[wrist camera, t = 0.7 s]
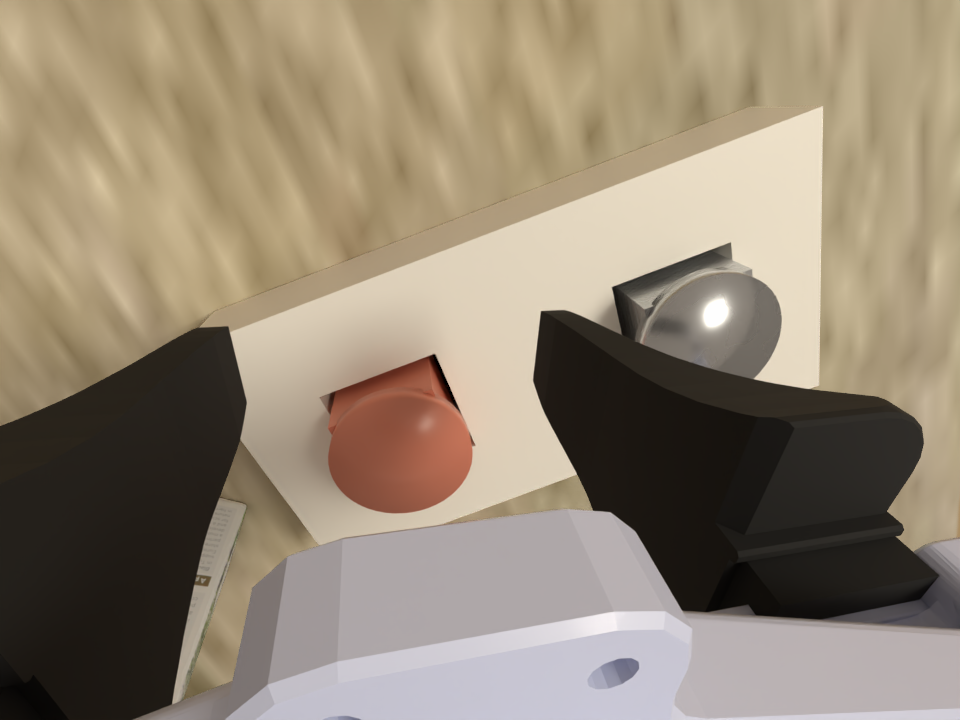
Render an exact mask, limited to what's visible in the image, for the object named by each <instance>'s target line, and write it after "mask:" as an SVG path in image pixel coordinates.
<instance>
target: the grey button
mask: <svg viewBox="0 0 960 720" xmlns="http://www.w3.org/2000/svg"><path fill="white" fill-rule="evenodd" d="M612 291H613V295H614V300H615V305H616V309H617V314H618V319H619V323H620V328H621V333H622V335H623V336H625V337H627V338H630V339H632V340H634V341H636V342H639V343H641V344H643V345H646V346H648V347H651V348H653V349H655V350H658V351H660V352H663V353H665V354H668V355H671V356H673V357H676V358H679V359H682V360H685V361H688V362H691V363H694V364H698V365H701V366H704V367H707V368H711V369H714V370H718V371H721V372H726V373H730V374H734V375H738V376H742V377H746V378H750V379H754V378H755V377H756V376H757V375H758V374H759V373H760V372H761V370H762V369H763V368H764V367H765V365H766V364H767V362H768V361H769V360H770V358H771V356H772V354H773V352H774V350H775V348H776V346H777V343H778V340H779V337H780V332H781V325H782V316H781V309H780V305H779V302H778V300H777V298H776V296H775V294H774V293H773V291H772V290H771V289H770V288H769V287H768V286H767V285H766V284H764V283H763V282H761V281H760V280H758V279H756V278H754V277H753V275H752V269H751V268H749V267H747V266H744V265H742V264H740V263H738V262H735V261H733V260H731V259H729V258H726V257H724V256H722V255H720V254H717V253H715V252H713V251H711V250H709V251H706V252H703V253H701V254H698V255H695V256H693V257H690V258H687V259H685V260H682V261H679V262H677V263H674V264H672V265H669V266H666V267H664V268H661V269H658V270H656V271H653V272H650V273H648V274H645V275H642V276H640V277H637V278H634V279H632V280H629V281H626V282H624V283H621V284H618V285H616V286H613V287H612Z"/></svg>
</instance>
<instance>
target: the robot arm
mask: <svg viewBox="0 0 960 720" xmlns="http://www.w3.org/2000/svg"><path fill="white" fill-rule="evenodd" d="M533 383H534V386H535V389H536V392H537V395H538V398H539V400H540V403H541V406H542V409H543V411H544V413H545V415H546V417H547V419H548V421H549V423H550V425H551V427H552V429H553V431H554V432H555V434H556V436H557V438H558V440H559V442H560V444H561V445H562V447H563V449H564V451H565V453H566V455H567V457H568V458H569V460H570V462H571V464H572V466H573V468H574V469H575V471H576V473H577V475H578V477H579V479H580V481H581V483H582V485H583V487H584V489H585V491H586V493H587V496H588V498H589V501H590V503H591V506H592V508H593V511H589V510H574V509H556V510H548V511H541V512H533V513H526V514H518V515H511V516H503V517H496V518H488V519H481V520H473V521H466V522H458V523H450V524H443V525H435V526H428V527H420V528H413V529H405V530H398V531H390V532H383V533H375V534H368V535H360V536H353V537H345V538H341V539H338V540H335V541H332V542H329V543H326V544H322V545H319V546H316V547H313V548H310V549H307V550H303V551H300V552H297V553H295V554H292V555H290V556H288V557H287V558H285V559H284V560H283V561H282V562H281V563H280V564H279V565H278V566H276V567H275V568H274V569H273V570H272V571H271V572H270V573H269V574H267V575H266V576H265V577H264V578H263V579H262V580H261V581H260V582H258V583H257V584H256V585H255V586H254V587H253V588H252V593H251V597H250V602H249V607H248V611H247V616H246V621H245V625H244V630H243V635H242V639H241V644H240V649H239V654H238V658H237V663H236V668H235V672H234V677H233V681H231V682H229V683H226V684H224V685H221V686H218V687H216V688H213V689H211V690H208V691H205V692H203V693H200V694H198V695H195V696H193V697H190V698H187V699H185V700H182V701H180V702H177V703H174V704H172V701H173V694H174V689H175V683H176V677H177V672H178V666H179V661H180V655H181V649H182V644H183V638H184V633H185V628H186V623H187V618H188V613H189V608H190V604H191V599H192V594H193V589H194V584H195V580H196V576H197V571H198V567H199V563H200V558H201V554H202V550H203V545H204V541H205V538H206V535H207V532H208V528H209V525H210V522H211V519H212V517H213V514H214V511H215V508H216V506H217V503H218V500H219V497H220V495H221V492H222V489H223V486H224V484H225V481H226V478H227V476H228V473H229V470H230V467H231V464H232V462H233V459H234V456H235V453H236V450H237V447H238V445H239V442H240V438H241V433H242V428H243V424H244V418H245V412H246V406H247V400H246V396H245V392H244V388H243V384H242V380H241V376H240V372H239V368H238V364H237V359H236V355H235V351H234V347H233V343H232V339H231V335H230V331H229V327H228V326H222V327H201V328H196V329H194V330H191V331H189V332H187V333H185V334H183V335H181V336H179V337H177V338H176V339H174V340H172V341H170V342H169V343H167V344H165V345H164V346H162V347H160V348H158V349H157V350H155V351H153V352H152V353H150V354H148V355H146V356H145V357H143V358H141V359H139V360H138V361H136V362H134V363H133V364H131V365H129V366H127V367H126V368H124V369H122V370H120V371H118V372H116V373H114V374H112V375H111V376H109V377H107V378H105V379H103V380H101V381H99V382H97V383H96V384H94V385H92V386H90V387H88V388H86V389H84V390H82V391H80V392H78V393H76V394H74V395H72V396H70V397H68V398H66V399H64V400H62V401H59V402H57V403H55V404H53V405H51V406H48V407H46V408H44V409H41V410H39V411H37V412H34V413H32V414H30V415H27V416H25V417H23V418H20V419H18V420H15V421H13V422H10V423H7V424H5V425H2V426H0V720H960V537H958V538H952V539H946V540H941V541H935V542H931V543H928V544H926V545H923V546H922V547H920V548H919V549H917V550H915V551H914V552H912V551H911V550H910V549H909V548H908V547H907V546H906V545H904V544H903V543H902V542H901V541H900V540H899V539H898V538H896V537H895V536H900V535H901V534H902V532H903V531H904V528H903V525H902V524H901V523H900V522H899V521H898V520H896V519H895V518H894V517H893V516H892V515H891V514H889V513H888V512H887V510H888V508H889V507H890V505H891V504H892V502H893V501H894V499H895V498H896V496H897V495H898V493H899V492H900V490H901V489H902V487H903V486H904V484H905V483H906V481H907V480H908V478H909V477H910V475H911V474H912V472H913V470H914V469H915V467H916V465H917V463H918V461H919V459H920V457H921V453H922V448H923V444H924V439H923V433H922V427H921V426H920V424H919V423H918V422H917V421H916V419H915V418H914V417H912V416H911V415H909V414H908V413H906V412H904V411H903V410H901V409H900V408H898V407H897V406H895V405H893V404H892V403H890V402H889V401H887V400H885V399H882V398H879V397H875V396H866V395H856V394H847V393H838V392H829V391H820V390H812V389H805V388H799V387H793V386H787V385H781V384H775V383H770V382H765V381H760V380H755V379H750V378H746V377H742V376H738V375H734V374H730V373H726V372H721V371H718V370H714V369H711V368H707V367H704V366H701V365H698V364H694V363H691V362H688V361H685V360H682V359H679V358H676V357H673V356H671V355H668V354H665V353H663V352H660V351H658V350H655V349H653V348H651V347H648V346H646V345H643V344H641V343H639V342H636V341H634V340H632V339H630V338H627V337H625V336H623V335H621V334H619V333H617V332H614V331H612V330H610V329H608V328H606V327H604V326H602V325H600V324H598V323H596V322H593V321H591V320H589V319H587V318H585V317H582V316H580V315H578V314H575V313H573V312H570V311H567V310H551V311H541V314H540V323H539V331H538V340H537V349H536V357H535V366H534V374H533Z"/></svg>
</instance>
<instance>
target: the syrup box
mask: <svg viewBox="0 0 960 720" xmlns="http://www.w3.org/2000/svg"><path fill="white" fill-rule="evenodd" d="M246 509H247V506H246V505H245V504H243V503H240V502H236V501H231V500H227V499H223V498H219V500H218V503H217V506H216V508H215V511H214V514H213V517H212V519H211V522H210V525H209V528H208V532H207V535H206V538H205V541H204V545H203V550H202V554H201V558H200V563H199V567H198V571H197V576H196V580H195V584H194V589H193V594H192V599H191V604H190V608H189V613H188V618H187V623H186V628H185V633H184V638H183V644H182V649H181V655H180V661H179V666H178V672H177V677H176V683H175V689H174V694H173V701H172V704H174V703H177V702H180V701H182V700H183V699H184V696H185V693H186V690H187V687H188V684H189V681H190V678H191V675H192V672H193V669H194V666H195V663H196V660H197V658H198V655H199V652H200V649H201V646H202V643H203V640H204V637H205V634H206V632H207V629H208V626H209V623H210V620H211V617H212V614H213V612H214V609H215V606H216V603H217V600H218V597H219V594H220V592H221V589H222V586H223V583H224V580H225V577H226V574H227V571H228V568H229V565H230V561H231V558H232V555H233V551H234V548H235V545H236V542H237V539H238V535H239V532H240V529H241V526H242V522H243V519H244V516H245V513H246Z"/></svg>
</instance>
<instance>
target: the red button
mask: <svg viewBox="0 0 960 720" xmlns="http://www.w3.org/2000/svg"><path fill="white" fill-rule="evenodd" d="M328 430H329V431H330V433H331V434H332V437H331V442H330V447H329V453H328V465H329V470H330V473H331V476H332V478H333V480H334V482H335V484H336V485H337V487H338V488H339V489H340V490H341V492H342V493H344V494H345V495H346V496H347V497H348V498H349V499H351V500H352V501H353V502H355V503H357V504H359V505H361V506H363V507H365V508H368V509H371V510H374V511H378V512H384V513H394V514H396V513H411V512H416V511H421V510H424V509H427V508H430V507H432V506H434V505H437V504H438V503H440V502H442V501H444V500H445V499H447V498H448V497H449V496H451V495H452V494H453V493H454V492H455V491H456V490H457V489H458V488H459V487H460V486H461V485H462V483H463V482H464V480H465V479H466V477H467V475H468V473H469V470H470V467H471V464H472V457H473V453H472V444H471V439H470V435H469V430H468V427H467V424H466V422H465V420H464V418H463V416H462V415H461V413H460V412H459V411H458V410H457V409H456V408H455V405H454V403H453V401H452V399H451V396H450V394H449V392H448V390H447V387H446V385H445V383H444V381H443V378H442V376H441V374H440V372H439V369H438V367H437V365H436V363H435V360H434V358H433V356H432V355H430V356H427V357H425V358H422V359H419V360H417V361H414V362H411V363H409V364H406V365H403V366H401V367H398V368H395V369H393V370H390V371H387V372H385V373H382V374H379V375H377V376H374V377H372V378H369V379H366V380H364V381H361V382H358V383H356V384H353V385H350V386H348V387H345V388H342V389H340V390H337V391H336V393H335V397H334V402H333V406H332V411H331V415H330V420H329V424H328Z"/></svg>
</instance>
